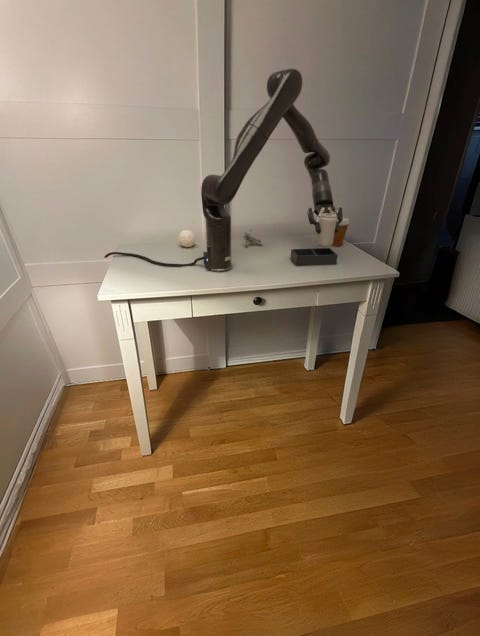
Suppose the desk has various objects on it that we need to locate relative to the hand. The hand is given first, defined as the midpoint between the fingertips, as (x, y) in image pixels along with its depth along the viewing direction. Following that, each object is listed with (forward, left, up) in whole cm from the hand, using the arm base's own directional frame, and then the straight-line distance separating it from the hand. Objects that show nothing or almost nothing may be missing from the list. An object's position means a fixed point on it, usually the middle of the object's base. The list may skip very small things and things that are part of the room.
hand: (327, 232), depth 122 cm
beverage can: (0, +2, -6) cm, 6 cm away
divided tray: (-4, +2, -12) cm, 13 cm away
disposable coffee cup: (+14, +23, -13) cm, 29 cm away
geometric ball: (-56, +26, -13) cm, 63 cm away
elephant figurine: (-26, +26, -13) cm, 39 cm away
